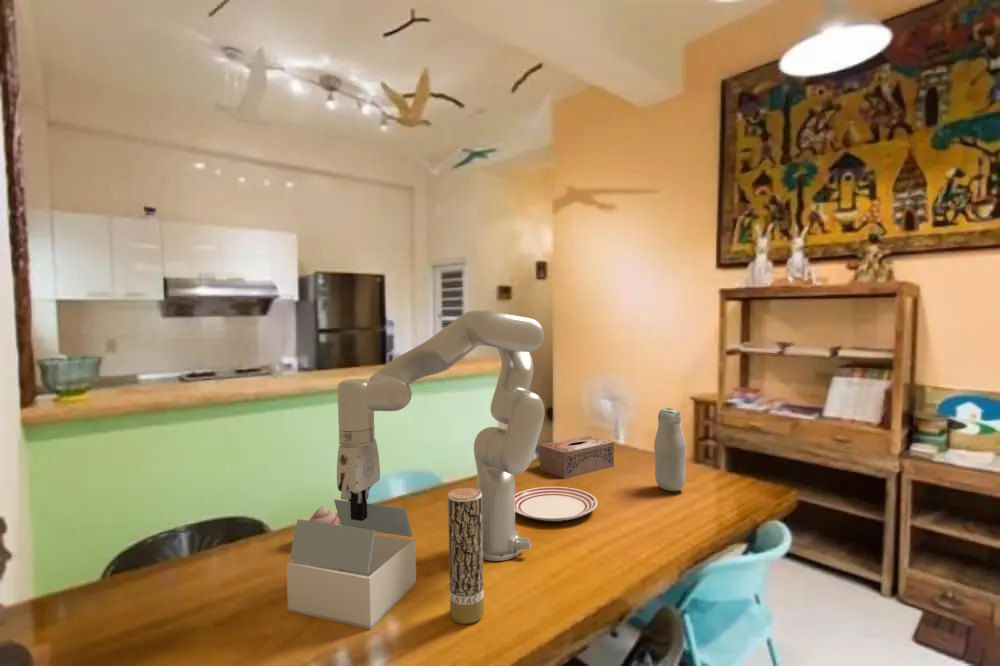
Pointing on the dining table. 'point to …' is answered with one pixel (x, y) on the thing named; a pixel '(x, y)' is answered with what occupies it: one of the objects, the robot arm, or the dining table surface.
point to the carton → (354, 585)
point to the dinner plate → (554, 503)
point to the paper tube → (466, 555)
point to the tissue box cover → (576, 456)
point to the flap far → (376, 518)
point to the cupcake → (325, 516)
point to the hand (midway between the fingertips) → (359, 518)
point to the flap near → (332, 545)
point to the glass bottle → (670, 451)
